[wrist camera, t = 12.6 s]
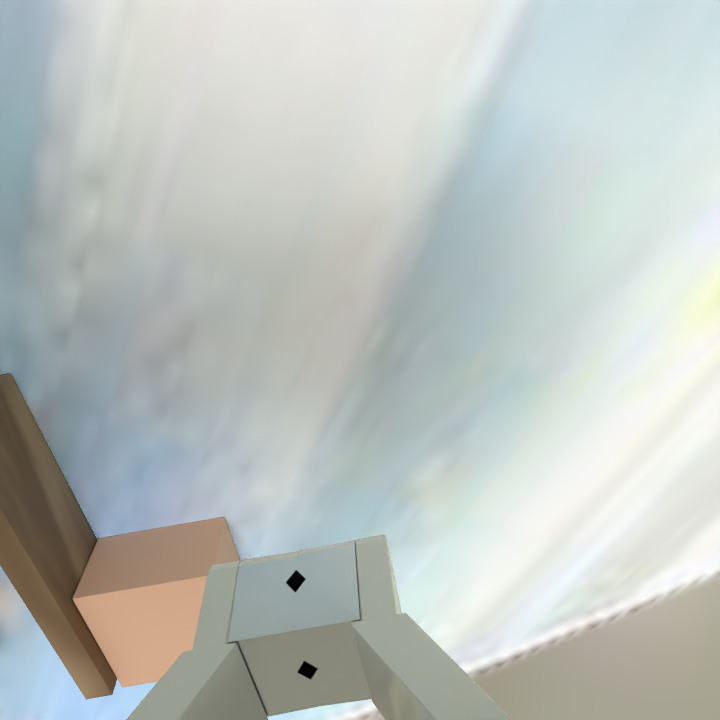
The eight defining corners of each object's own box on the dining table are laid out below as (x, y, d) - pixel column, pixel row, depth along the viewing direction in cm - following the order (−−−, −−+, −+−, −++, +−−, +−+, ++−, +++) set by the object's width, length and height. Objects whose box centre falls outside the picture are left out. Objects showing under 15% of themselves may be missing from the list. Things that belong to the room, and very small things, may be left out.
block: (141, 621, 53) (122, 687, 47) (99, 536, 48) (72, 598, 43) (256, 602, 52) (249, 666, 47) (224, 514, 48) (213, 574, 42)
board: (113, 619, 52) (86, 699, 46) (-19, 378, 40) (-79, 441, 34) (136, 615, 52) (112, 694, 46) (10, 373, 40) (-45, 434, 34)
